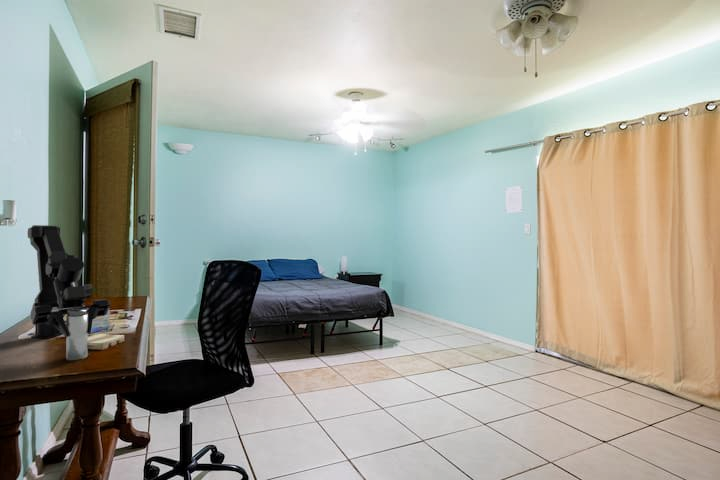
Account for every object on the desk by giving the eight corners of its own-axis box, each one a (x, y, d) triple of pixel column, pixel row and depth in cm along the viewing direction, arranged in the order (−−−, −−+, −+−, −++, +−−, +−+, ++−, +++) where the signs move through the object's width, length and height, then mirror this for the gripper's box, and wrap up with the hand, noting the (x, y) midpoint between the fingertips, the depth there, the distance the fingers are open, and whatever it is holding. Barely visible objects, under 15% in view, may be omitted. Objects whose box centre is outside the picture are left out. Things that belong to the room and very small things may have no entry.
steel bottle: (61, 359, 116) (61, 311, 116) (75, 354, 121) (76, 308, 121) (78, 360, 116) (78, 312, 115) (91, 355, 121) (92, 308, 121)
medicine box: (91, 333, 145) (91, 309, 144) (81, 332, 146) (81, 308, 145) (109, 328, 152) (109, 305, 152) (99, 327, 153) (99, 305, 153)
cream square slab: (73, 348, 127) (73, 341, 127) (96, 339, 137) (96, 333, 137) (102, 349, 126) (103, 343, 126) (124, 340, 136) (124, 335, 136)
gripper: (34, 278, 113) (44, 323, 107) (108, 273, 128) (121, 313, 121) (27, 302, 119) (36, 346, 112) (99, 295, 133) (111, 334, 126)
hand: (78, 334), depth 118 cm, fingers closed on steel bottle, 5 cm apart
